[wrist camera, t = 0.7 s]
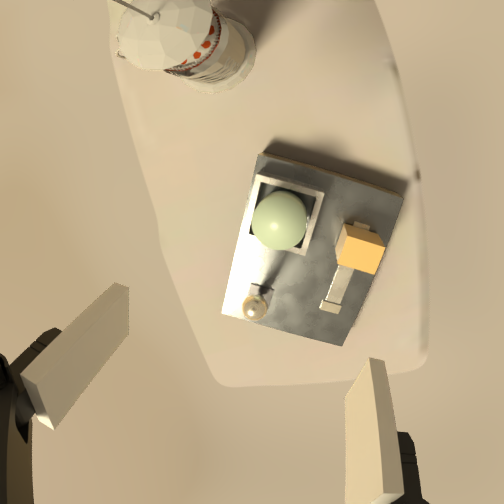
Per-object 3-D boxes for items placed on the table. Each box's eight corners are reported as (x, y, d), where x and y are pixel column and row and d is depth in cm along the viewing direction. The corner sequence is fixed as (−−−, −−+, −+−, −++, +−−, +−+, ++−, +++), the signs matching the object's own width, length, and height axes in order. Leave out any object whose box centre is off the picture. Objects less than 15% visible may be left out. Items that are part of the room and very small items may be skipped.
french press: (257, 91, 33) (151, 37, 10) (161, 99, 35) (-14, 99, 12) (255, 12, 29) (164, -118, 6) (160, 26, 31) (2, -35, 8)
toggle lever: (252, 285, 38) (244, 292, 29) (271, 290, 38) (270, 300, 29) (246, 304, 38) (237, 317, 29) (266, 310, 38) (263, 325, 29)
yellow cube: (343, 223, 33) (347, 235, 30) (378, 234, 33) (385, 247, 29) (335, 248, 35) (337, 263, 31) (368, 258, 34) (374, 274, 31)
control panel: (262, 151, 35) (253, 156, 30) (397, 192, 34) (410, 204, 29) (227, 301, 44) (216, 324, 39) (340, 332, 42) (342, 358, 37)
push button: (263, 184, 31) (258, 191, 29) (313, 198, 31) (312, 206, 28) (251, 231, 33) (246, 241, 31) (299, 245, 33) (297, 256, 30)
